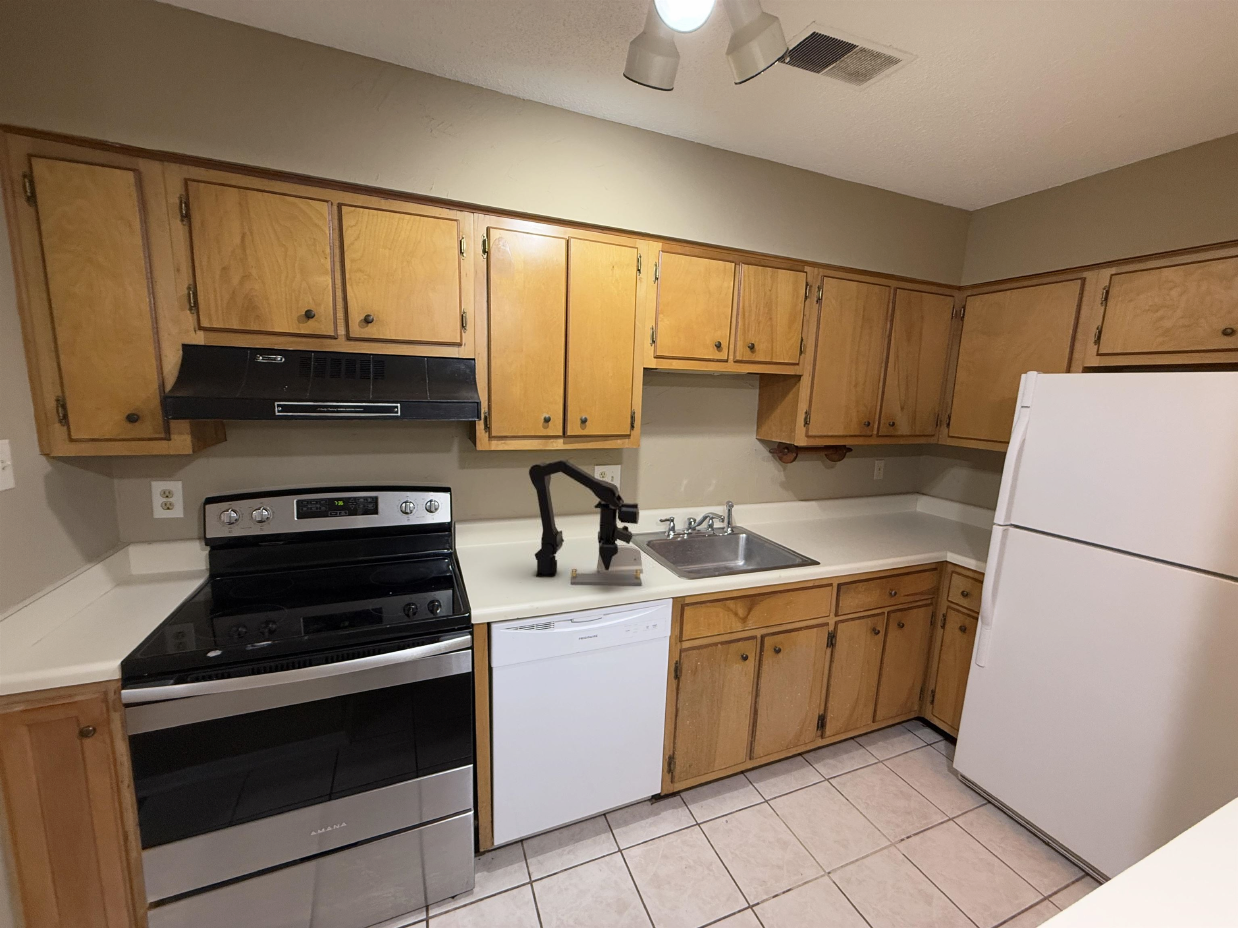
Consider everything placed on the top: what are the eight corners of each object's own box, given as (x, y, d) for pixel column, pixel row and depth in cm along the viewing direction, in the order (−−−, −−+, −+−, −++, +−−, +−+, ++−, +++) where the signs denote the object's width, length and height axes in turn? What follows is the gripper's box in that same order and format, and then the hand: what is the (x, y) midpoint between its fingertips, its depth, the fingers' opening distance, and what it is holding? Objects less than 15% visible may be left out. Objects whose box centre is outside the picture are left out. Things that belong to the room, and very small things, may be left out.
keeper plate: (570, 585, 169) (571, 573, 168) (571, 576, 177) (571, 565, 176) (641, 585, 171) (642, 574, 170) (639, 577, 178) (639, 566, 178)
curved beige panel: (598, 575, 179) (598, 547, 178) (596, 572, 183) (596, 545, 183) (643, 573, 182) (644, 546, 182) (640, 570, 187) (640, 543, 187)
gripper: (634, 529, 162) (632, 575, 164) (629, 514, 180) (627, 556, 183) (599, 528, 161) (598, 575, 163) (598, 514, 180) (597, 556, 182)
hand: (606, 565), depth 173 cm, fingers open, 9 cm apart
